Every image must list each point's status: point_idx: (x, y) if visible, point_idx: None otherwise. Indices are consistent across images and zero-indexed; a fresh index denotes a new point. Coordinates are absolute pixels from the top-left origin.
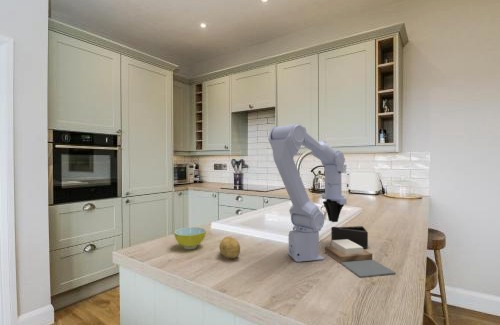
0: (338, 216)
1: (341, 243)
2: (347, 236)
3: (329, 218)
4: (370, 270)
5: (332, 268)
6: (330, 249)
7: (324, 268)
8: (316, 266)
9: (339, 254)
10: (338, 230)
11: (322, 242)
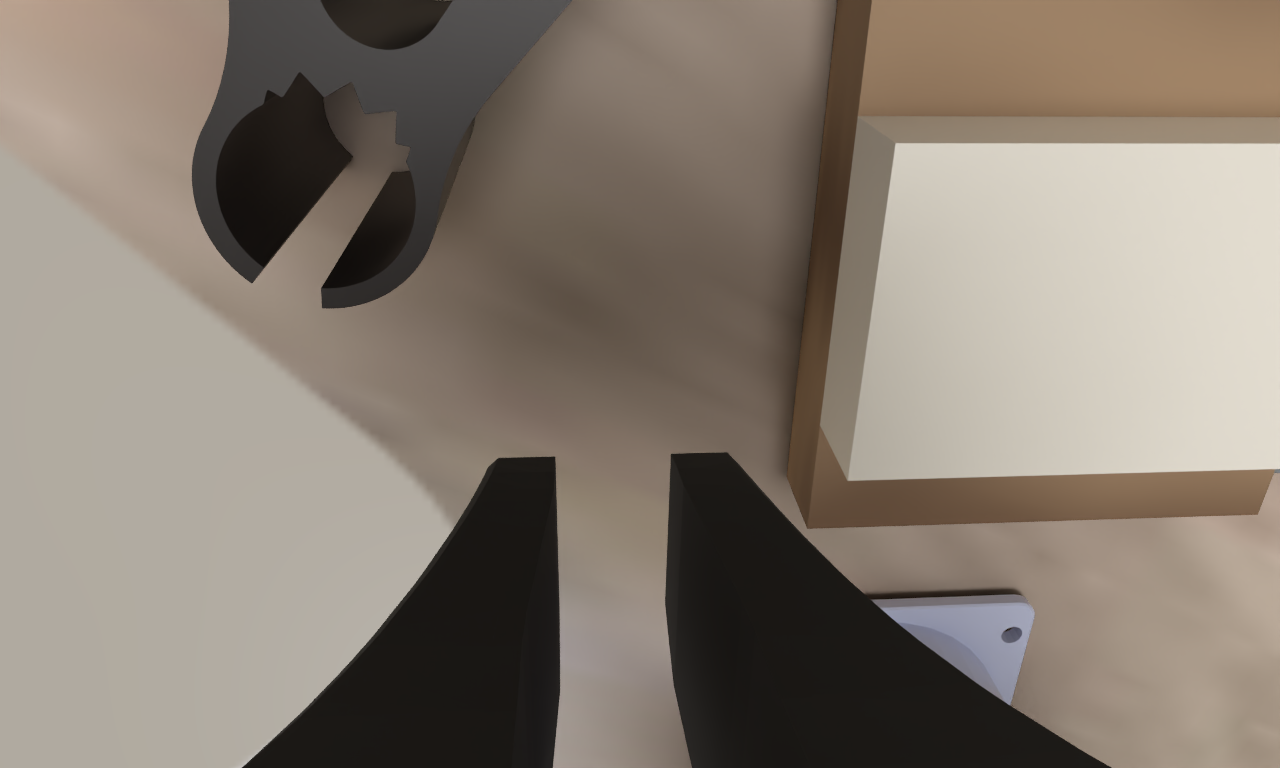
0: (808, 555)
1: (1078, 408)
2: None
3: (559, 679)
4: None
5: (1262, 596)
6: (953, 509)
7: (1217, 663)
8: (1135, 710)
9: (1185, 484)
10: (449, 158)
11: (287, 314)
